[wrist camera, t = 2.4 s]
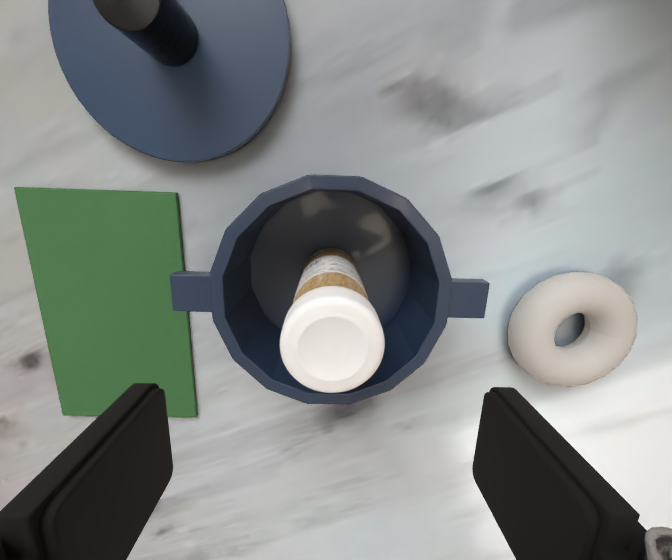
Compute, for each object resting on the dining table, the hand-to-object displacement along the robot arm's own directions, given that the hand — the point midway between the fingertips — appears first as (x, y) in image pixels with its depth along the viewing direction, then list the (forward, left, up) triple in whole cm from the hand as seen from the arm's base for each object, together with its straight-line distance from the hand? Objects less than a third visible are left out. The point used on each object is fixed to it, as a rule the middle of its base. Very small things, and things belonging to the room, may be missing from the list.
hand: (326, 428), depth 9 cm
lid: (-16, -11, -18) cm, 26 cm away
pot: (0, 0, -18) cm, 18 cm away
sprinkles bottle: (0, 0, -18) cm, 18 cm away
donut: (+4, +20, -18) cm, 28 cm away
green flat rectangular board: (+4, -18, -18) cm, 26 cm away
